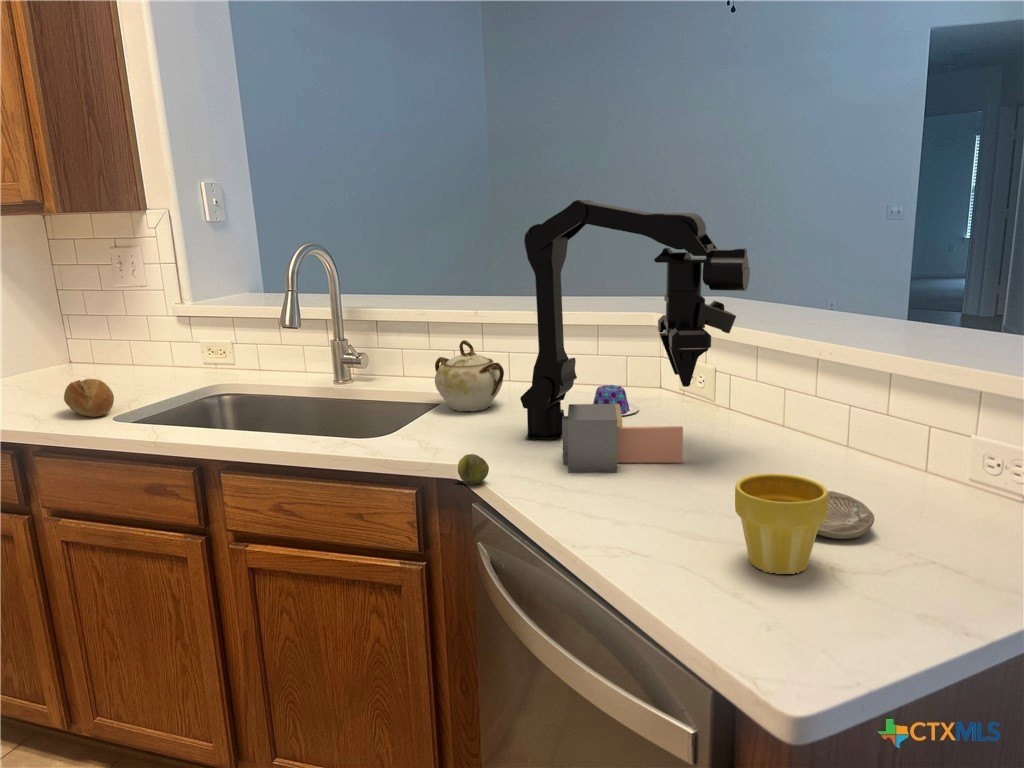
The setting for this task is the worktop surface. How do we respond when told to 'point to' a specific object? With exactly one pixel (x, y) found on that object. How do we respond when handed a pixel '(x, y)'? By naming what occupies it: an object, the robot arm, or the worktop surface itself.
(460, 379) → the sugar bowl
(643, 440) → the salmon pink plank
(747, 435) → the worktop surface
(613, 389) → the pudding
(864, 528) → the fossil
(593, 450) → the grey upright box
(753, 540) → the plant pot
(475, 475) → the lime
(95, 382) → the bread roll
